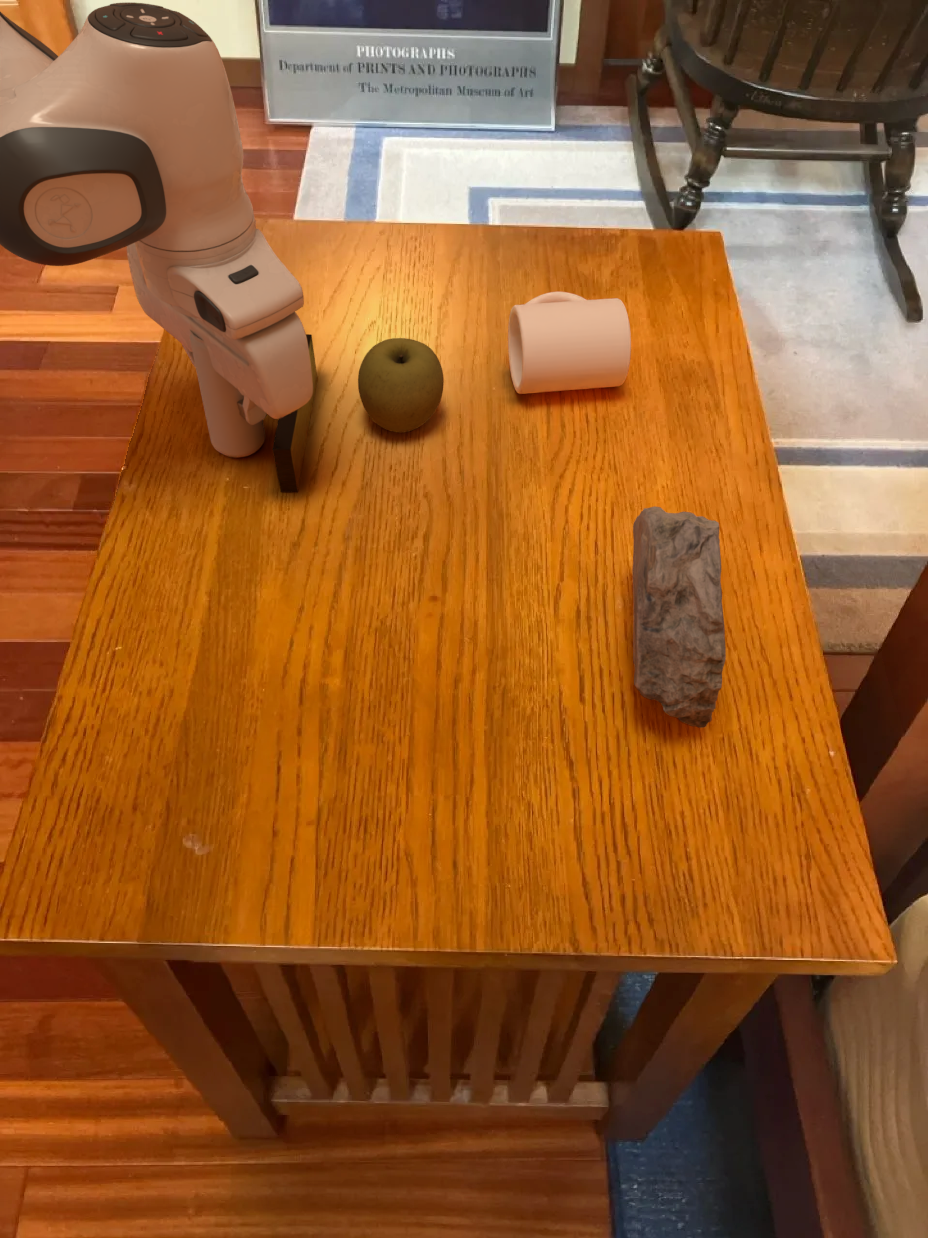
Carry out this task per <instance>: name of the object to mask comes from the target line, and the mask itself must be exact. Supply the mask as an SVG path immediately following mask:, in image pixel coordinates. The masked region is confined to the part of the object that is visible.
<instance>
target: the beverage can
mask: <svg viewBox="0 0 928 1238" xmlns="http://www.w3.org/2000/svg"><path fill="white" fill-rule="evenodd" d="M190 333H191V334H192V335H190V342H191V347H192V352H193V357H194V361H195V366H196V368H195V372H196V371H197V372H196V376H197V381H198V386H199V390H200V395H201V400H202V405H203V409H204V415H205V421H206V425H207V429H208V434H209V439H210V443H211V446H212V447H213V448H214V449H215V450H216V451H217V452H218V453H220V454H222V455H224V456H226V457H229V458H245V457H248V456H251V455H253V454H255V453H256V452H258V451H259V450H260V448H261V447H262V446H263V444H264V443H265V441H266V431H265V430H266V429H265V424H264V420H262V421H260V422H258V423H256V424H254V425H251V424H249V423H248V422H247V421H246V420H245V419H244V418H243V417H241V416H240V414H239V412H240V411H239V409H238V405H237V402H238V401H240V400H242V399H244V396H243V395H242V394H241V393H240V392H239V390H238V389H237V388H235V387H234V386H233V385H232V384H230V383H229V382H228V381H227V380H226V379H224V378H223V377H222V376H221V375H220V374H218V373H217V372H216V371H215V369H214V368H213V366H212V362H211V359H210V355H209V351H208V349H207V348H206V347H205V345H204V344H203V343H205V342H204V340H202V339H200V338H198V337H197V336H195V335H194V334H193V332H192V331H191V330H190Z"/></svg>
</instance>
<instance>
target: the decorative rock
mask: <svg viewBox="0 0 928 1238" xmlns="http://www.w3.org/2000/svg"><path fill="white" fill-rule="evenodd" d="M632 538H633V545H632V548H633V552H632V596H633V597H632V599H633V602H632V603H633V626H632V627H633V629H632V631H633V632H632V639H633V640H632V645H633V646H632V651H633V653H632V657H633V658H632V660H633V661H632V662H633V665H634V675H633V685H634V687H635V688H636V689H637V691H638V692H639V693H640V695H641V696H642V697H643V698H645V699H647V700H652V701H656V702H658V703H659V704H660V705H661V707H662V710H663V712H664V713H665V714H667V715H668V716H669V717H673V718H676V719H678V721H679V722H681V723H683V724H686V725H688V726H690V727H696V728H699V729H704V728H707V726H708V724H709V723H710V722H712V720H713V716H712V715H713V712H714V711H715V710H716V708H717V707H716V706H717V700H718V696H719V692H720V690H721V689H722V688H723V687H722V685H723V671H724V666H725V664H726V657H727V653H726V652H727V650H726V635H725V634H726V633H725V631H726V630H725V619H724V610H723V592H722V591H723V589H722V581H721V580H722V579H721V575H722V556H721V545H720V522H718V521H716V520H714V519H713V520H712V519H708V518H706V517H705V516H702V515H700V516H699V515H696V514H695V513H694V512H690V511H681V512H666V511H665V510H664V509H663V508H662V507H660V506H656V505H655V506H651V507H646V508H645V507H644V508H643V509H642V510H641V511H640V513H639V515H637V517H636V518H635V520H634V521H633V526H632Z"/></svg>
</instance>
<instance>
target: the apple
mask: <svg viewBox="0 0 928 1238" xmlns="http://www.w3.org/2000/svg"><path fill="white" fill-rule="evenodd" d="M357 375H358V377H357V387H358V394H359V398H360V402H361V404H362V406H363V408H364V410H365V412H366V414H367V415H368V417H369V418H370V419H371V420H372V421H373V422H374V423H375V424H376V425H377V426H379V427H380V428H383V429H385V430H386V431H390V432H394V433H408V432H411V431H414V430H417V429H418V428H419V427H421V426H423V425H424V424H425V423H426V422H427V421H429V420H430V419H431V417H432V416H433V415H434V414H435V412H436V411H437V410H438V407H439V406H440V403H441V400H442V398H443V397H442V396H443V393H444V383H445V382H444V381H445V380H444V372H443V367H442V365H441V361H440V359H439V358H438V356H437V354H436V353H435V351H434V350H433V349H432V347H431V348H430V346H428V345H426V343H424V342H421V341H419V340H415V339H412V338H407V337H395V338H393V337H392V338H387V339H384V340H381V341H380V342H378V343H376V344H374V345H373V346H372V347H371V348H370V349H369V350H368V352H367V353H366V354H365V355H364V357H363V359H362V361H361V364H360V367H359V370H358V374H357Z"/></svg>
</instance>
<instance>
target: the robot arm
mask: <svg viewBox="0 0 928 1238" xmlns="http://www.w3.org/2000/svg"><path fill="white" fill-rule="evenodd" d="M221 56H222V55H221V54H220V51H219V49H218V47H217V45H216V43H215V42H214V40H213V38H211V36H210V35H209V34H208V33H207V32H206V31H205V30H204V29H203V28H202V27H201V26H200V25H199V24H198V23H196V22H195V21H194V20H193V19H191V18H190V17H188V16H187V15H184V14H183V13H182V12H179V11H177V10H173V9H169V8H166V7H164V6H161V5H157V4H150V3H145V2H144V3H143V2H115V3H114V2H113V3H110V4H108V5H103V6H101V7H98V8H96V9H94V10H92V11H91V12H89V14H88V15H87V17H86V18H85V21H84V23H83V25H82V27H81V29H80V31H79V32H78V34H77V36H76V37H75V38H74V39H73V40H72V41H71V42H70V44H68V46H67V47H66V48H65V49H64V50H63V51H62V52H61V53H60V54H59V55H58V54H57V53H55V52H54V51H53V50H52V49H51V48H50V47H48V46H47V45H46V44H45V43H43V42H42V41H41V40H39V38H36V37H35V36H34V35H33V34H31V33H30V32H28V31H26V29H24V28H22V27H21V26H20V25H18V24H17V23H16V22H14V21H12V19H10V18H9V17H8V16H6V14H3V12H1V11H0V246H2V247H3V248H4V249H6V250H7V251H8V252H10V253H11V254H13V255H15V256H17V257H19V258H21V259H23V260H26V261H28V262H31V263H35V264H37V265H43V266H49V267H50V266H51V267H67V266H73V265H78V264H82V263H86V262H89V261H91V260H95V259H97V258H100V257H102V256H106V255H108V254H111V253H113V252H116V251H118V250H121V249H124V248H126V256H127V262H128V268H129V272H130V276H131V281H132V285H133V289H134V293H135V297H136V299H137V301H138V303H139V305H140V307H141V309H142V311H143V312H144V314H145V315H147V317H149V318H150V319H151V320H152V321H154V322H155V323H156V324H157V325H158V326H159V327H161V328H162V329H163V330H164V331H166V332H167V333H168V334H170V335H171V336H172V337H173V338H174V339H175V340H177V341H178V342H179V343H180V344H182V348H183V350H184V351H185V353H186V355H187V357H188V358H189V360H190V361H191V363H192V365H193V367H194V368H195V369H196V366H195V361H194V357H193V352H192V347H191V342H190V335H192V334H191V333H190V330H191V331H192V332H193V334H194V335H195V336H197V337H198V338H200V339H202V340H204V342H205V343H203V344H204V345H205V347H206V348H207V349H208V351H209V355H210V359H211V362H212V366H213V368H214V369H215V371H216V372H217V373H218V374H220V375H221V376H222V377H223V378H224V379H226V380H227V381H228V382H229V383H230V384H232V385H233V386H234V387H235V388H237V389H238V390H239V392H240V393H241V394H242V395H243V396H244V399H242V400H240V401H238V402H237V405H238V409H239V411H240V412H239V414H240V416H241V417H243V418H244V419H245V420H246V421H247V422H248V423H249V424H251V425H254V424H256V423H258V422H260V421H262V420H263V421H264V420H265V419H266V417H267V415H268V416H269V417H270V418H272V419H274V420H278V419H280V418H282V417H284V416H286V415H288V414H290V413H292V412H294V411H296V410H297V409H299V408H301V407H302V406H304V405H305V404H306V403H307V402H308V401H309V400H310V399H311V397H312V394H313V380H312V370H311V362H310V354H309V348H308V342H307V337H306V334H307V333H306V330H305V327H304V325H303V323H302V320H301V319H300V317H299V315H298V314H297V311H299V310H300V309H302V308H303V307H304V306H305V297H304V290H303V288H302V285H301V284H300V282H299V280H298V279H297V278H296V277H295V275H294V274H293V273H292V272H291V271H290V270H289V269H288V268H287V266H286V265H285V264H284V262H282V260H280V258H279V257H278V256H277V254H276V253H275V252H274V250H273V248H272V247H271V246H270V244H269V242H268V240H267V238H266V237H265V235H264V233H263V231H261V230H260V228H257V224H256V217H255V212H254V208H253V203H252V200H251V199H250V196H249V194H248V192H247V190H246V188H245V185H244V179H243V166H244V146H243V140H242V135H241V131H240V130H241V129H240V126H239V120H238V115H237V109H236V105H235V102H234V97H233V92H232V89H231V84H230V82H229V77H228V74H227V71H226V68H225V65H224V62H223V59H222V57H221ZM195 372H196V373H197V371H196V370H195Z"/></svg>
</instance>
